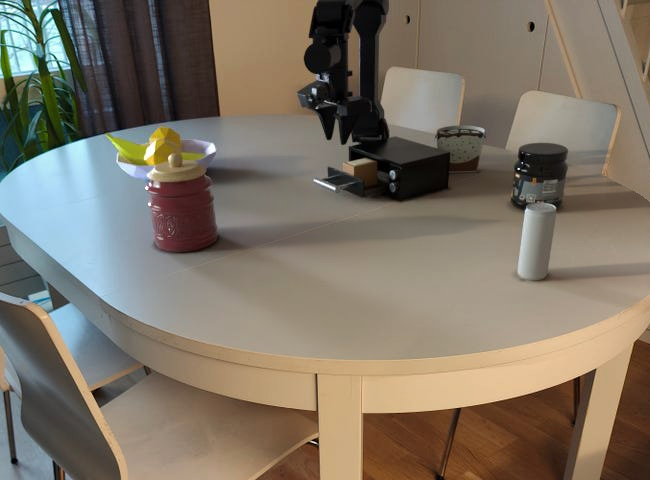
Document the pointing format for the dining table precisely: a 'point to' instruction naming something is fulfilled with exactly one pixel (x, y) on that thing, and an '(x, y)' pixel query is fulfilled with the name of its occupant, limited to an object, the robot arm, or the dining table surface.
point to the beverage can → (536, 241)
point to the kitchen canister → (181, 205)
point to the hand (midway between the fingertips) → (336, 142)
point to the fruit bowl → (160, 151)
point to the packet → (362, 170)
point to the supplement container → (539, 175)
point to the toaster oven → (407, 166)
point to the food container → (461, 146)
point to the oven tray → (354, 183)
